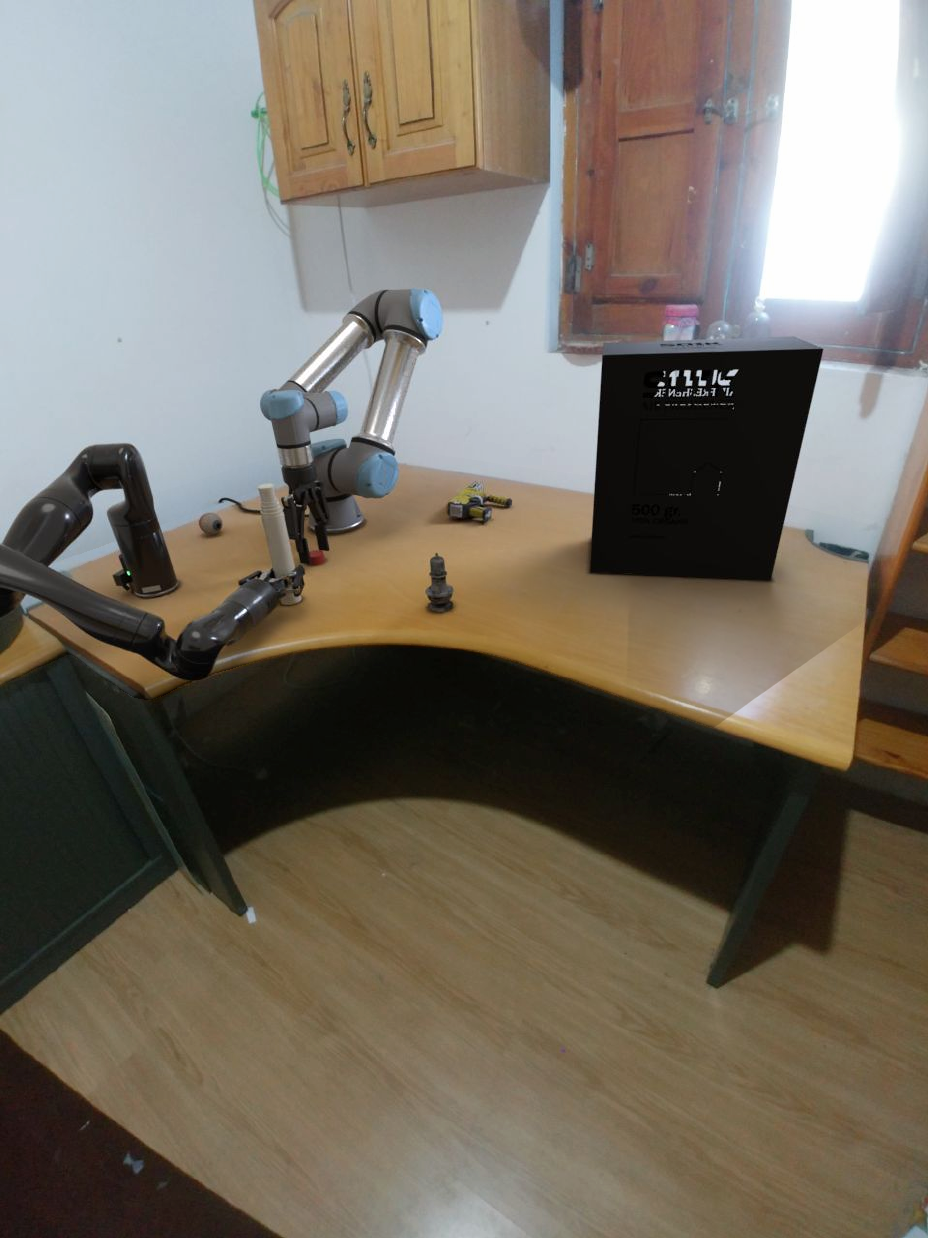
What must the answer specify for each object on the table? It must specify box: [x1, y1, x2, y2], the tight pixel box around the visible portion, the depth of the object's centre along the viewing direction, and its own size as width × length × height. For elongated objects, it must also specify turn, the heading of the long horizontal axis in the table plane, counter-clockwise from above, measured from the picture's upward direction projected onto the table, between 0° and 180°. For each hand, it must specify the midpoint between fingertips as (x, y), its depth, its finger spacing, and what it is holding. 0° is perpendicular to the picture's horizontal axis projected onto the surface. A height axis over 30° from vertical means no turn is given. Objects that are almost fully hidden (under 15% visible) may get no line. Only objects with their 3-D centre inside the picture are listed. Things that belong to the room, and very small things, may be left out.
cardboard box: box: [589, 336, 824, 581], centre depth 128 cm, size 38×20×45 cm, turn 78°
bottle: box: [257, 483, 302, 606], centre depth 125 cm, size 4×4×26 cm
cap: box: [308, 549, 326, 566], centre depth 148 cm, size 4×4×2 cm
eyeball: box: [198, 512, 223, 536], centre depth 167 cm, size 6×6×6 cm
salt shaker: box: [424, 552, 455, 613], centre depth 122 cm, size 6×6×12 cm
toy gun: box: [446, 480, 513, 523], centre depth 174 cm, size 5×24×15 cm
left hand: (291, 568), depth 130 cm, fingers closed on bottle, 4 cm apart
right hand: (315, 556), depth 148 cm, fingers open, 7 cm apart
